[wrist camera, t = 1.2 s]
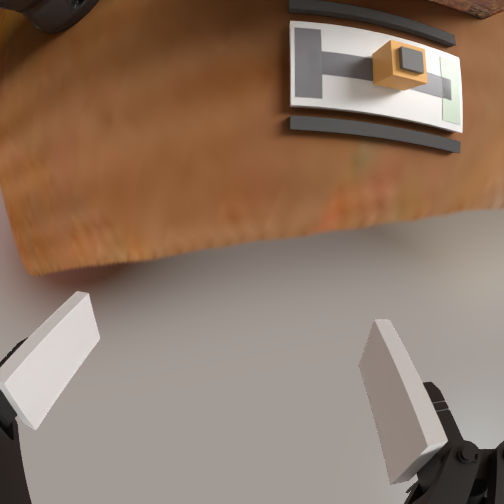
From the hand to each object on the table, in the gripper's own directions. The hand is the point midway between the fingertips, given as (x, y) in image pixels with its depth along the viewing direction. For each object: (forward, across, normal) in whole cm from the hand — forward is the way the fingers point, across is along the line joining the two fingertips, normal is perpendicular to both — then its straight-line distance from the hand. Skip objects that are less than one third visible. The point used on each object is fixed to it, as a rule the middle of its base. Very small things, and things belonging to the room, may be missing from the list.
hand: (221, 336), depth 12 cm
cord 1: (+25, +14, +27) cm, 39 cm away
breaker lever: (+23, +15, +19) cm, 33 cm away
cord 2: (+25, +15, +11) cm, 31 cm away
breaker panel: (+25, +15, +19) cm, 34 cm away
